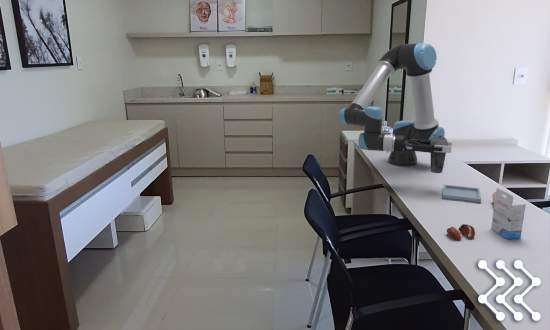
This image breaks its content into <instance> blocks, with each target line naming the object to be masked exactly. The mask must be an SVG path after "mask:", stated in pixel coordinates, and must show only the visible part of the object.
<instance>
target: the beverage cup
mask: <svg viewBox="0 0 550 330" xmlns="http://www.w3.org/2000/svg"><path fill="white" fill-rule="evenodd" d="M438 125H439V124H438ZM438 125H437V136H436V137H434V138H433V139H432V140H431V142H430V145H433V146H434V145H442V146H448V142H449V141H448V139H447V138H446V137H445V136H444V137H443V136H439V130H438ZM446 155H447V153H444V152H434V153H433V154H431V153H430V173H432V174H442V173H443V169H444V165H445V160H446Z"/></svg>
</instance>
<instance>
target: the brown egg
mask: <svg viewBox="0 0 550 330" xmlns="http://www.w3.org/2000/svg"><path fill="white" fill-rule="evenodd" d="M501 195H502V196H505V194H501ZM495 197H496V191H495V192H493V193H492V197H491V198H492V201H493V204H494V202H495Z"/></svg>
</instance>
